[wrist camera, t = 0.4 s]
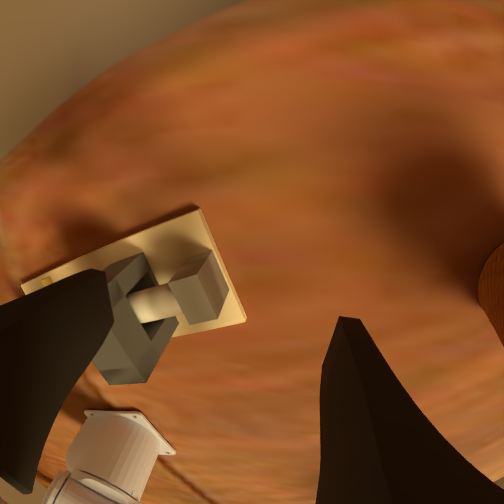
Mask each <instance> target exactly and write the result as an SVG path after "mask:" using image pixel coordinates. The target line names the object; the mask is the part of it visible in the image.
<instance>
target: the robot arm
mask: <svg viewBox="0 0 504 504" xmlns="http://www.w3.org/2000/svg"><path fill="white" fill-rule="evenodd" d="M114 322H115V321H114V316H113V311H112V306H111V301H110V296H109V290H108V285H107V279H106V273H105V272H104V271H100V270H96V269H92V268H90V269H87V270H84V271H81V272H78V273H75V274H73V275H71V276H68V277H66V278H63V279H61V280H59V281H57V282H54V283H52V284H50V285H48V286H45V287H43V288H41V289H39V290H36V291H34V292H32V293H29V294H27V295H25V296H22V297H20V298H17V299H15V300H13V301H10V302H8V303H6V304H3V305H0V477H1V478H2V479H4V480H5V481H6V482H8V483H9V484H10V485H11V486H13V487H14V488H16V489H17V490H18V491H20V492H21V493H23V494H30V493H32V491H33V485H34V480H35V476H36V472H37V467H38V464H39V460H40V457H41V454H42V451H43V448H44V445H45V442H46V440H47V437H48V435H49V432H50V430H51V427H52V425H53V423H54V421H55V418H56V416H57V414H58V412H59V410H60V408H61V406H62V404H63V402H64V400H65V399H66V397H67V396H68V394H69V392H70V391H71V389H72V388H73V386H74V385H75V383H76V382H77V381H78V379H79V378H80V376H81V375H82V373H83V372H84V371H85V369H86V368H87V366H88V365H89V364H90V362H91V361H92V359H93V358H94V356H95V355H96V354H97V352H98V351H99V349H100V348H101V346H102V345H103V343H104V341H105V339H106V337H107V336H108V334H109V332H110V330H111V328H112V326H113V324H114ZM84 414H85V415H86V416H87V417H88V418H87V419H86V421H85V422H84V424H83V426H82V427H81V429H80V430H79V432H78V434H77V435H76V437H75V438H74V440H73V442H72V443H71V445H70V447H69V448H68V451H67V454H66V465H67V469H68V471H67V470H66V471H62V472H59V473H58V474H57V475H56V476H55V478H54V479H53V481H52V482H51V484H50V486H49V487H48V489H47V491H46V493H45V495H44V498H43V501H42V504H142V503H141V502H139V501H140V498H141V496H142V493H143V491H144V488H145V486H146V483H147V481H148V478H149V476H150V473H151V471H152V468H153V466H154V463H155V461H156V458H157V456H158V454H162V455H175V454H176V451H175V450H174V449H173V448H172V447H171V446H170V445H169V443H168V442H167V441H166V440H165V439H164V438H163V437H162V436H161V435H160V434H159V433H158V431H157V430H156V429H155V428H154V427H153V426H152V425H151V423H150V422H149V421H148V420H147V419H146V418H145V416H144V415H143V414H142V413H141V412H138V411H99V410H85V411H84ZM320 444H321V461H320V476H319V483H318V491H317V498H316V504H504V489H502V488H500V487H499V486H498V485H496V484H495V483H493V482H492V481H491V480H490V479H488V478H487V477H486V476H485V475H484V474H482V473H481V472H480V471H479V470H477V469H476V468H475V467H474V466H473V465H472V464H471V463H469V462H468V461H467V460H466V459H465V458H464V457H463V456H462V455H461V454H460V453H459V452H458V451H457V450H456V449H455V448H454V447H453V446H452V445H451V444H450V443H449V442H448V441H447V440H446V439H445V438H444V437H443V436H442V435H441V434H440V433H439V432H438V430H437V429H436V428H435V427H434V426H433V425H432V423H431V422H430V421H429V420H428V419H427V417H426V416H425V415H424V414H423V413H422V411H421V410H420V409H419V408H418V406H417V405H416V404H415V403H414V401H413V400H412V398H411V397H410V396H409V394H408V393H407V391H406V390H405V389H404V387H403V386H402V385H401V383H400V382H399V380H398V379H397V377H396V376H395V374H394V373H393V371H392V370H391V368H390V367H389V365H388V364H387V362H386V360H385V359H384V357H383V356H382V354H381V352H380V351H379V349H378V348H377V346H376V344H375V343H374V341H373V339H372V338H371V336H370V335H369V333H368V331H367V330H366V328H365V327H364V325H363V323H362V322H361V320H360V319H356V318H349V317H342V316H339V318H338V321H337V324H336V327H335V330H334V333H333V336H332V339H331V342H330V345H329V348H328V351H327V354H326V356H325V359H324V362H323V365H322V373H321V385H320ZM0 504H8V503H7V502H6V501H4V500H3V499H2V498H1V497H0Z"/></svg>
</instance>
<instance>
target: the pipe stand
mask: <svg viewBox="0 0 504 504" xmlns="http://www.w3.org/2000/svg"><path fill="white" fill-rule="evenodd" d="M142 252H144V255H145V257H146V259H147V261H148V263H149V265H150V267H151V269H152V271H153V273H154V275H155V277H156V279H157V281H158V283H159V285H158V286H155V287H151V288H148V289H144V290H141V291H137V292H134V293H131V294H127V295H125V296H126V298H127V300H128V302H129V304H130V305H131V307H132V309H133V311H134V313H135V314H136V316H137V318H138V320H139V321H140V323H146V322H150V321H155V320H159V319H164V318H168V317H173V316H176V318H177V320H178V322H179V325H178V326H177V328H176V330H175V332H174V333H173V335H172V337H176V336H181V335H186V334H191V333H196V332H201V331H206V330H210V329H215V328H220V327H224V326H229V325H233V324H238V323H242V322H246V318H247V316H246V314H245V312H244V309H243V307H242V305H241V302H240V300H239V298H238V296H237V293H236V291H235V289H234V286H233V284H232V282H231V279H230V277H229V275H228V273H227V270H226V268H225V266H224V263H223V261H222V258H221V256H220V254H219V251H218V249H217V247H216V244H215V242H214V240H213V237H212V235H211V232H210V230H209V228H208V225H207V223H206V220H205V218H204V215H203V213H202V211H201V208H199V209H197V210H194V211H191V212H189V213H186V214H183V215H181V216H178V217H175V218H173V219H170V220H168V221H165V222H163V223H160V224H157V225H155V226H152V227H150V228H147V229H145V230H142V231H140V232H137V233H135V234H133V235H130V236H128V237H125V238H123V239H120V240H118V241H116V242H113V243H111V244H109V245H106V246H104V247H102V248H99V249H97V250H95V251H92V252H90V253H88V254H85V255H83V256H81V257H79V258H76V259H74V260H72V261H70V262H68V263H65V264H63V265H61V266H59V267H57V268H54V269H52V270H50V271H48V272H46V273H44V274H42V275H39V276H37V277H35V278H33V279H31V280H29V281H27V282H25V283H23V284H22V285H21V287H22V289H23V291H24V293H25V295H27V294H29V293H32V292H34V291H36V290H39V289H41V288H43V287H45V286H48V285H50V284H52V283H54V282H57V281H59V280H61V279H63V278H66V277H68V276H71V275H73V274H75V273H78V272H81V271H84V270H87V269H90V268H92V269H96V270H100V271H103V270H104V269H105V268H106V267H108V266H109V265H110V264H112V263H115V262H117V261H120V260H123V259H125V258H128V257H131V256H133V255H136V254H139V253H142Z"/></svg>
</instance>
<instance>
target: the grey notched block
mask: <svg viewBox="0 0 504 504" xmlns="http://www.w3.org/2000/svg"><path fill="white" fill-rule="evenodd" d="M103 271H104V272H105V273H106V279H107V285H108V290H109V296H110V301H111V306H112V311H113V316H114V321H115V322H114V324H113V326H112V328H111V330H110V332H109V334H108V336H107V337H106V339H105V341H104V343H103V345H102V346H101V348H100V349H99V351H98V352H97V354H96V355H95V356H94V358H93V359H92V362H93V363H94V365H95V366H96V368H97V369H98V370H99V372H100V373H101V375H102V376H103V377H104V379H105V380H106V381H107V383H108V384H109V385H121V384H136V383H146V382H147V380H148V378H149V377H150V375H151V373H152V371H153V369H154V367H155V366H156V364H157V362H158V360H159V358H160V357H161V355H162V353H163V351H164V349H165V348H166V346H167V344H168V342H169V341H170V339H171V337H172V335H173V333H174V332H175V330H176V328H177V326H178V325H179V322H178V320H177V318H176V316H173V317H168V318H164V319H159V320H155V321H150V322H146V323H140V321H139V320H138V318H137V316H136V314H135V313H134V311H133V309H132V307H131V305H130V304H129V302H128V300H127V298H126V296H125V295H127V294H131V293H134V292H137V291H141V290H144V289H148V288H151V287H155V286H158V285H159V283H158V281H157V279H156V277H155V275H154V273H153V271H152V269H151V267H150V265H149V263H148V261H147V259H146V257H145V255H144V252H142V253H139V254H136V255H133V256H131V257H128V258H125V259H123V260H120V261H117V262H115V263H112V264H110V265H109V266H108V267H106V268H105V269H104V270H103Z"/></svg>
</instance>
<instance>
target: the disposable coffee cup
mask: <svg viewBox="0 0 504 504" xmlns="http://www.w3.org/2000/svg"><path fill="white" fill-rule="evenodd" d="M477 294H478V300H479V303H480V305H481V307H482V308H483V310H484V311H485V313H486V315H487V316H488V318H489V320H490V322H491V324H492V325H493V327H494V329H495V331H496V333H497V335H498V337H499V339H500V340H501V342H502V344H503V346H504V243H502V244H501V245H500V246H499V247H498V248H496V249H495V250H494V252H493V253H492V254H491V255H490V257H489V258H488V260H487V261H486V263H485V265H484V267H483V269H482V271H481V274H480V277H479V281H478V290H477Z"/></svg>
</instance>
